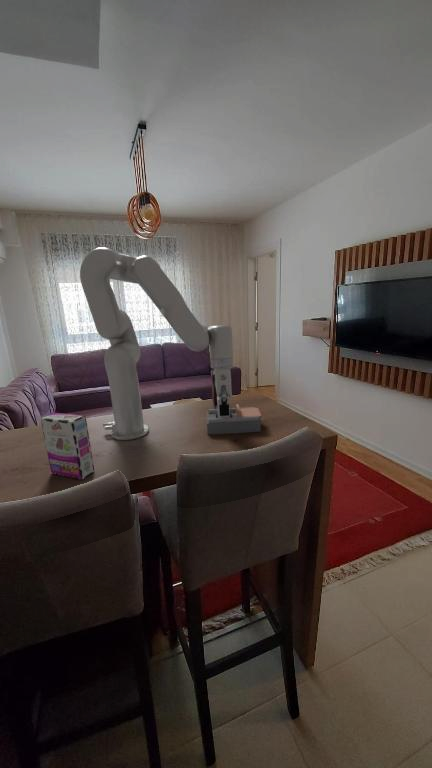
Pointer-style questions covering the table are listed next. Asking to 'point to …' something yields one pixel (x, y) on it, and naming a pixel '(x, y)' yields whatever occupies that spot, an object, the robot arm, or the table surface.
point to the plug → (219, 410)
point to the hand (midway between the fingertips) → (223, 410)
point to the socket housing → (231, 423)
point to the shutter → (247, 412)
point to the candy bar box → (68, 444)
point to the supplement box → (214, 390)
